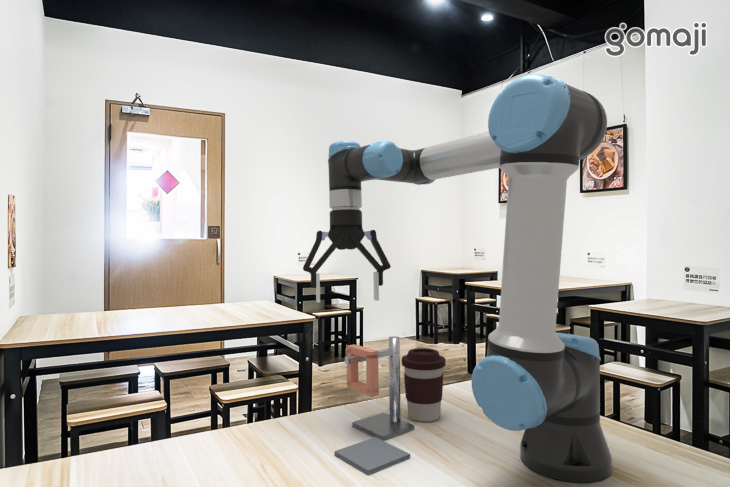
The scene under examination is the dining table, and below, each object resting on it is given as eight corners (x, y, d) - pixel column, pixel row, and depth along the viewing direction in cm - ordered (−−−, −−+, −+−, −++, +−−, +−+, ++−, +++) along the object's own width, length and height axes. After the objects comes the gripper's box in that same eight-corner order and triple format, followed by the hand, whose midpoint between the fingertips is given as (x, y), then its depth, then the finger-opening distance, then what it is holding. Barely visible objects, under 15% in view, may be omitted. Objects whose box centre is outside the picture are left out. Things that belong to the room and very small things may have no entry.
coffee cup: (444, 409, 113) (443, 346, 113) (447, 425, 103) (446, 356, 103) (402, 408, 114) (401, 346, 114) (401, 424, 104) (400, 356, 104)
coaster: (410, 458, 88) (410, 453, 88) (368, 475, 82) (368, 470, 82) (375, 441, 96) (375, 437, 96) (334, 455, 90) (334, 451, 90)
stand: (415, 429, 101) (414, 340, 101) (362, 448, 93) (361, 350, 93) (384, 416, 109) (383, 333, 109) (333, 432, 100) (332, 342, 100)
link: (378, 395, 96) (378, 350, 96) (371, 397, 95) (370, 352, 95) (354, 386, 103) (354, 344, 103) (347, 388, 101) (346, 345, 101)
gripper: (394, 210, 117) (396, 297, 116) (291, 211, 113) (293, 301, 113) (401, 207, 109) (403, 300, 109) (291, 208, 105) (293, 304, 105)
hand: (347, 301), depth 111 cm, fingers open, 13 cm apart
